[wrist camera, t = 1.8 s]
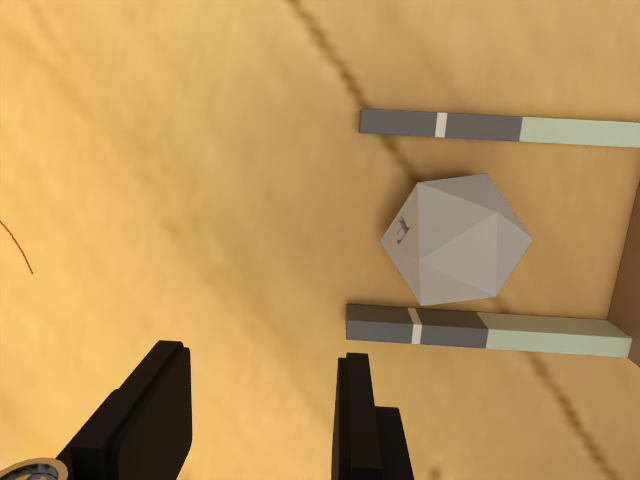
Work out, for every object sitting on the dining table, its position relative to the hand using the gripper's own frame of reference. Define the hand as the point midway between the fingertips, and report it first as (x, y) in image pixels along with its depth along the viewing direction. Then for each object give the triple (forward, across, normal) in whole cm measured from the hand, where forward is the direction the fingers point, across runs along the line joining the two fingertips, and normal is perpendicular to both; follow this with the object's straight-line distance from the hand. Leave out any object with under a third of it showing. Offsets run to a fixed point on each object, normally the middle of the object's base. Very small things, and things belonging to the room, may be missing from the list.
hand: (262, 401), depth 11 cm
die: (+22, -10, 0) cm, 24 cm away
